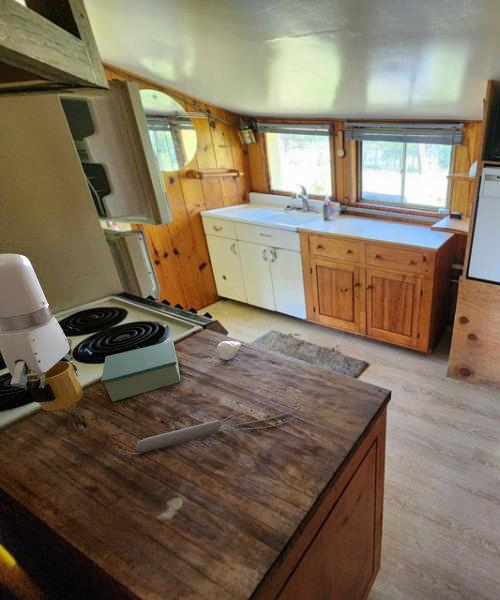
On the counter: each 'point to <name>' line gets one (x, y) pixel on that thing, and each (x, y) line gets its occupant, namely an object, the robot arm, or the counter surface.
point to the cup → (61, 386)
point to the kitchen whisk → (197, 431)
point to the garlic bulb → (228, 349)
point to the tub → (140, 370)
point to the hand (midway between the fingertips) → (57, 388)
